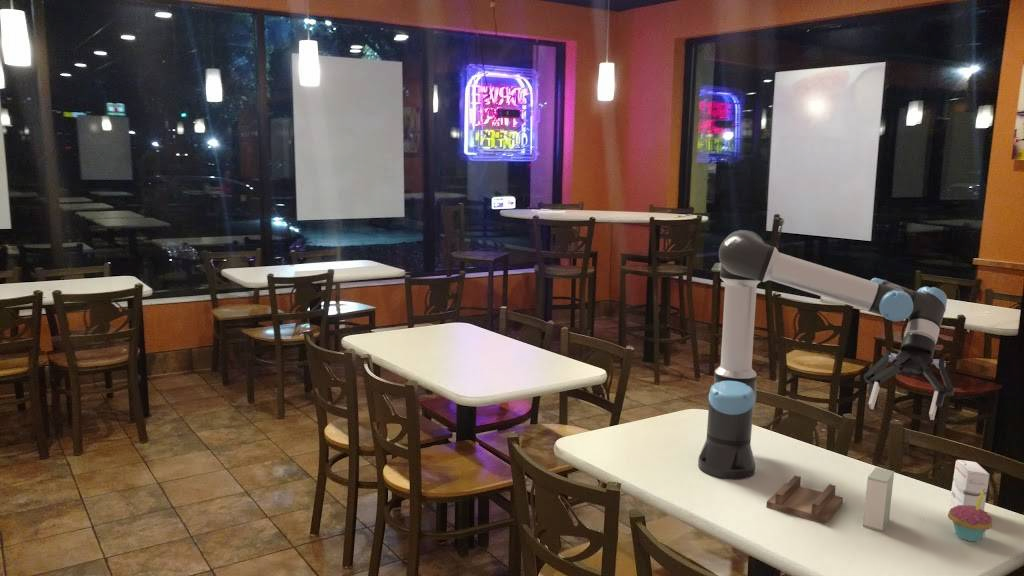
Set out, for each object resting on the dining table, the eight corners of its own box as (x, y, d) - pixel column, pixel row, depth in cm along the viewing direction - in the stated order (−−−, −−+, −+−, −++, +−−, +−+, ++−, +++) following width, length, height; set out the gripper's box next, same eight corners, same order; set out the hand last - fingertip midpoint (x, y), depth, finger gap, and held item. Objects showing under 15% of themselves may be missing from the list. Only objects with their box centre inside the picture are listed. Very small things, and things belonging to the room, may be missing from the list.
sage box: (862, 526, 177) (867, 477, 175) (870, 514, 183) (875, 467, 181) (881, 531, 174) (887, 481, 173) (889, 519, 181) (894, 471, 179)
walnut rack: (766, 507, 186) (767, 491, 185) (785, 488, 197) (787, 473, 197) (826, 523, 177) (827, 507, 177) (842, 503, 189) (844, 487, 189)
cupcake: (987, 533, 175) (993, 483, 173) (992, 549, 167) (999, 497, 165) (944, 525, 178) (950, 476, 177) (947, 540, 171) (953, 489, 169)
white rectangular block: (984, 521, 181) (990, 473, 179) (961, 519, 182) (967, 471, 180) (970, 506, 190) (976, 460, 188) (948, 504, 191) (953, 458, 189)
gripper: (976, 356, 190) (959, 429, 181) (870, 342, 206) (850, 409, 197) (974, 338, 185) (956, 413, 176) (865, 326, 201) (844, 394, 192)
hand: (900, 411), depth 186 cm, fingers open, 13 cm apart
